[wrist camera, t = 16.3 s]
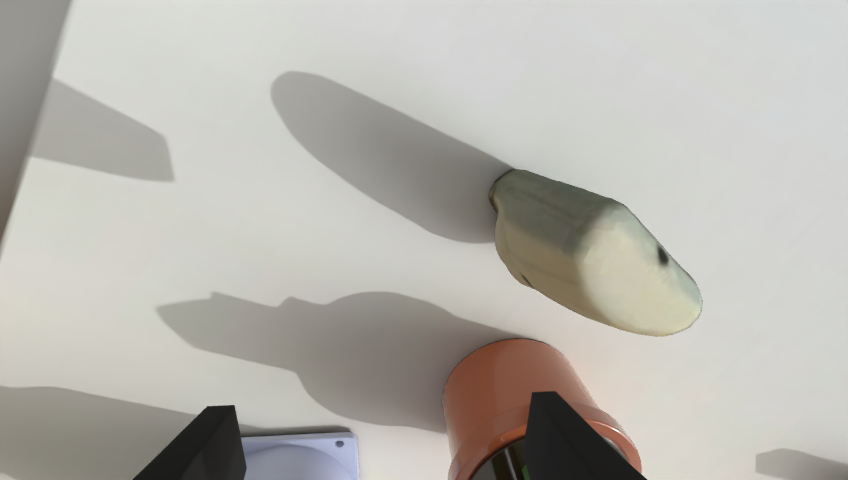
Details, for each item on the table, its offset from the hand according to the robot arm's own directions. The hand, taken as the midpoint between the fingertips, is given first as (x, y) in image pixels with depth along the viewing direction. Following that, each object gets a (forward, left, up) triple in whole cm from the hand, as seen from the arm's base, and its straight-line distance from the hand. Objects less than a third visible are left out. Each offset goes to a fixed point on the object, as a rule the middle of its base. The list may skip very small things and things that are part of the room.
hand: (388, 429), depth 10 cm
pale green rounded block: (+7, +2, -11) cm, 13 cm away
